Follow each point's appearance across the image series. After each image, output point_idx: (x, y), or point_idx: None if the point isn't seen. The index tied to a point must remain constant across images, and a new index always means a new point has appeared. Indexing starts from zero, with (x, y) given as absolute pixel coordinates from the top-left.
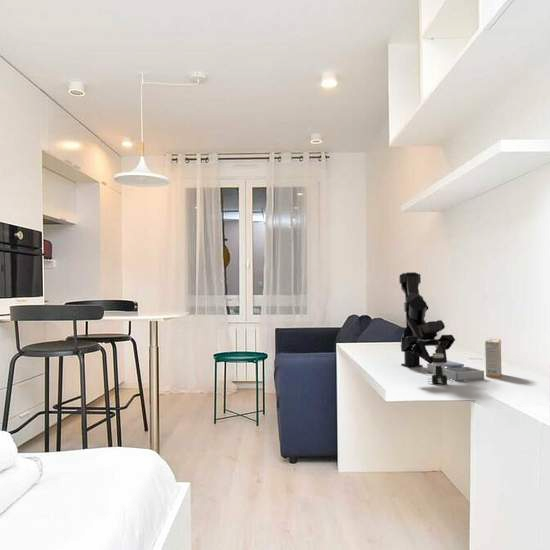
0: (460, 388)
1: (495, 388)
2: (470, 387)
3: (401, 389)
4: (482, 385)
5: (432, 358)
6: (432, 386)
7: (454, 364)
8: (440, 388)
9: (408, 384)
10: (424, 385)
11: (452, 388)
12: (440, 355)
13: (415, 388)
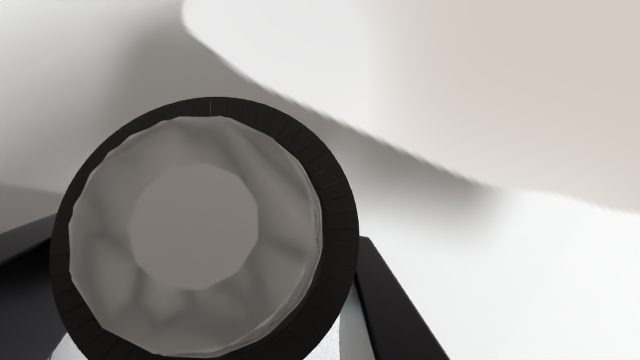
0: (246, 87)
1: (62, 3)
2: (167, 80)
3: (629, 230)
4: (46, 87)
5: (356, 226)
6: (370, 209)
7: None
8: (362, 140)
9: (495, 346)
10: (402, 260)
11: (292, 108)
12: (241, 125)
13: (520, 212)
